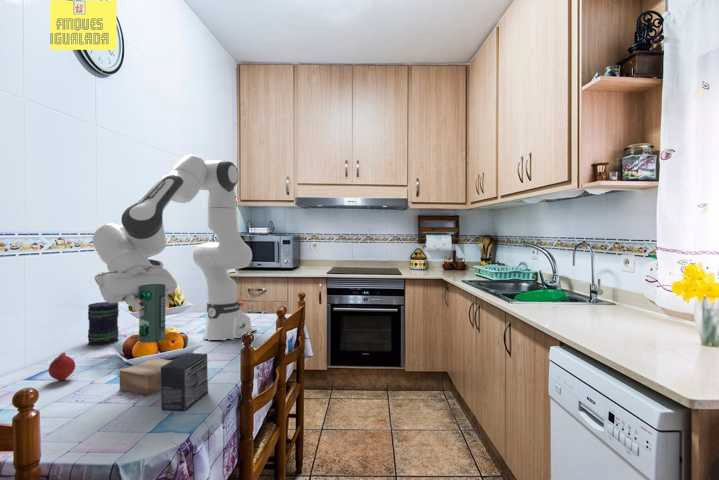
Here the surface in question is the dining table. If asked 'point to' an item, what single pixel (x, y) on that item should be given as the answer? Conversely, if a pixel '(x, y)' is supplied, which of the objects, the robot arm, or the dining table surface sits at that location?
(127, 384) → the brown cardboard box
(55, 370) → the onion
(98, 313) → the storage jar
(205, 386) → the small box
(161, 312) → the can
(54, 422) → the dining table surface
